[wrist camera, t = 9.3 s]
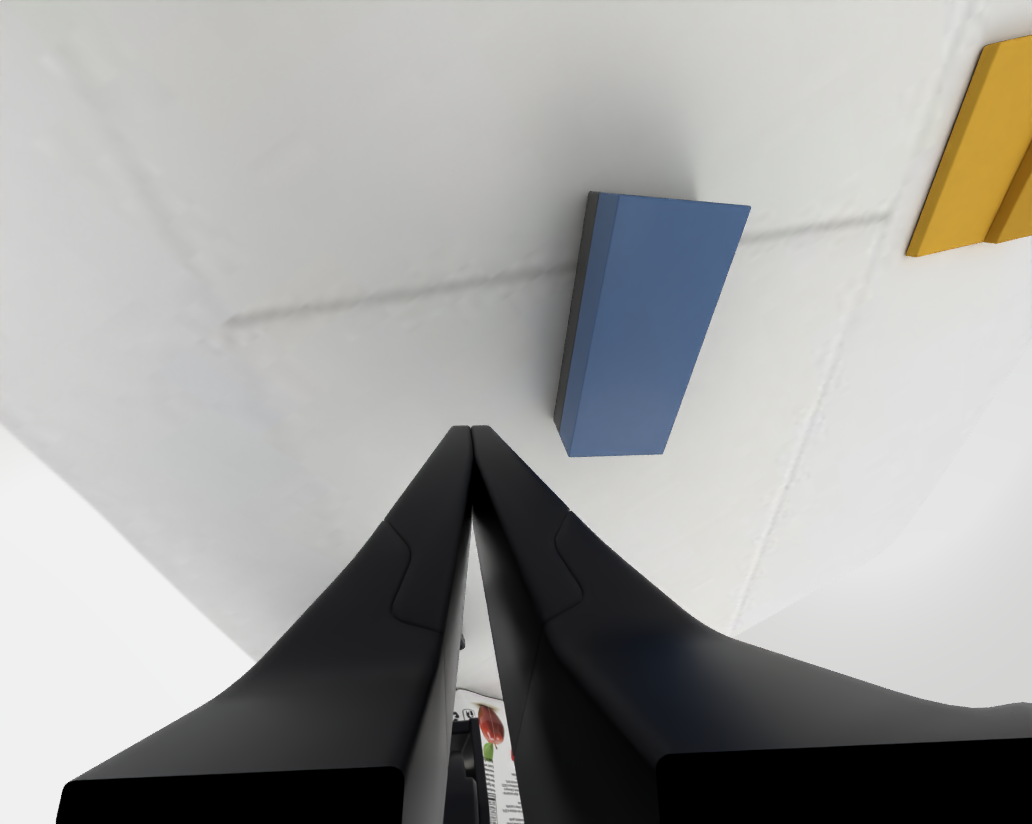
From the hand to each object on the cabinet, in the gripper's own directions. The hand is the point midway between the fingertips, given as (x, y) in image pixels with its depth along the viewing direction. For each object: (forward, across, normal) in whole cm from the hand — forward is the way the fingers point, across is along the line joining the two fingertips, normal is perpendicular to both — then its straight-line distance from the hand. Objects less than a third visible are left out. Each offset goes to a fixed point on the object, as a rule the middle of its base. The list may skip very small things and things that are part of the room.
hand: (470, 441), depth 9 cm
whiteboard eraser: (+8, -7, 0) cm, 11 cm away
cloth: (+8, -22, -8) cm, 25 cm away
